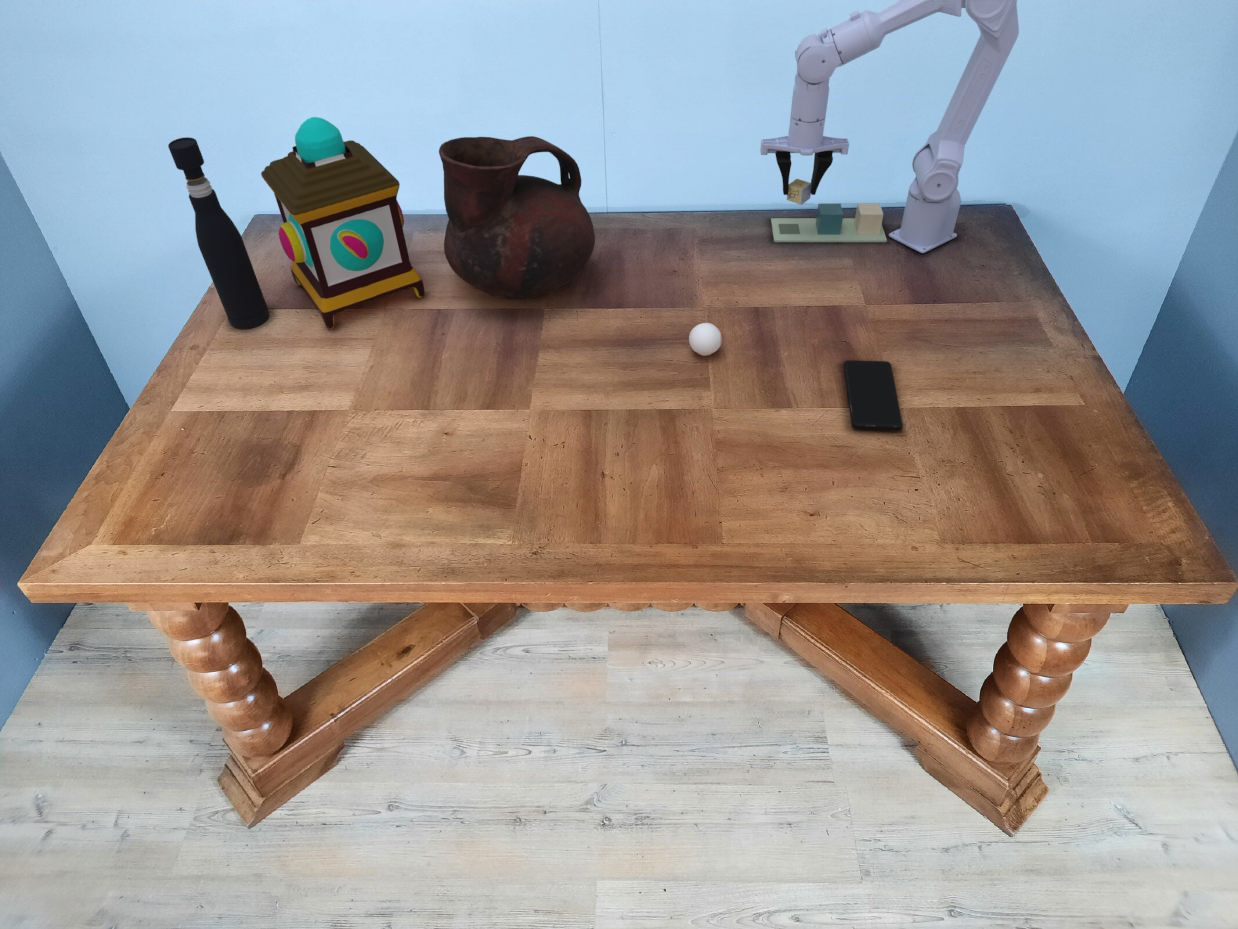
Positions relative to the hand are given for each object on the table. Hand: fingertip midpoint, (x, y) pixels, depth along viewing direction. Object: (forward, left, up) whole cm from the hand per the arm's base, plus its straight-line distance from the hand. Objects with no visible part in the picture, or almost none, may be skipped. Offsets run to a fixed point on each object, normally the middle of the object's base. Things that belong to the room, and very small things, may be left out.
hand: (798, 192), depth 154 cm
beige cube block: (-11, +7, -8) cm, 16 cm away
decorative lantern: (+70, -33, -8) cm, 78 cm away
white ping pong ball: (+35, +17, -8) cm, 40 cm away
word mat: (-6, +3, -8) cm, 11 cm away
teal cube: (-6, +3, -8) cm, 10 cm away
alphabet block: (0, 0, -2) cm, 2 cm away
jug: (+46, -18, -8) cm, 51 cm away
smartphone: (+23, +40, -8) cm, 47 cm away
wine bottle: (+88, -37, -8) cm, 96 cm away
